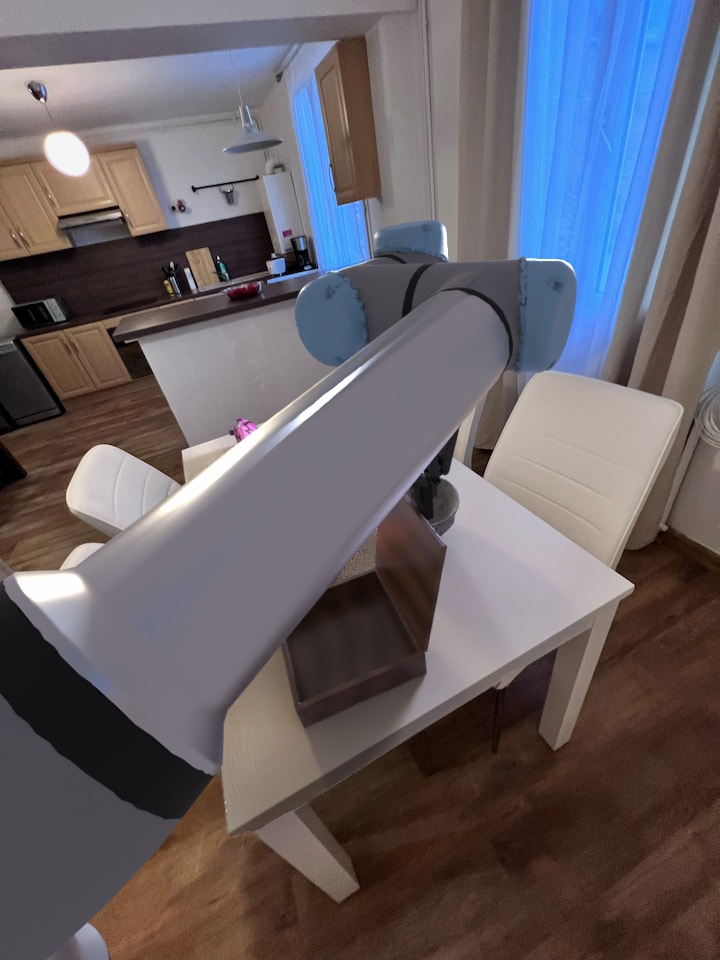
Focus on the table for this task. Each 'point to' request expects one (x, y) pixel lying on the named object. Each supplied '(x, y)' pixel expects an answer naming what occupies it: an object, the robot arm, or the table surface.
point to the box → (349, 648)
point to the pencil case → (242, 429)
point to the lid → (411, 566)
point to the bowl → (442, 506)
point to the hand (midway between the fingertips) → (425, 514)
